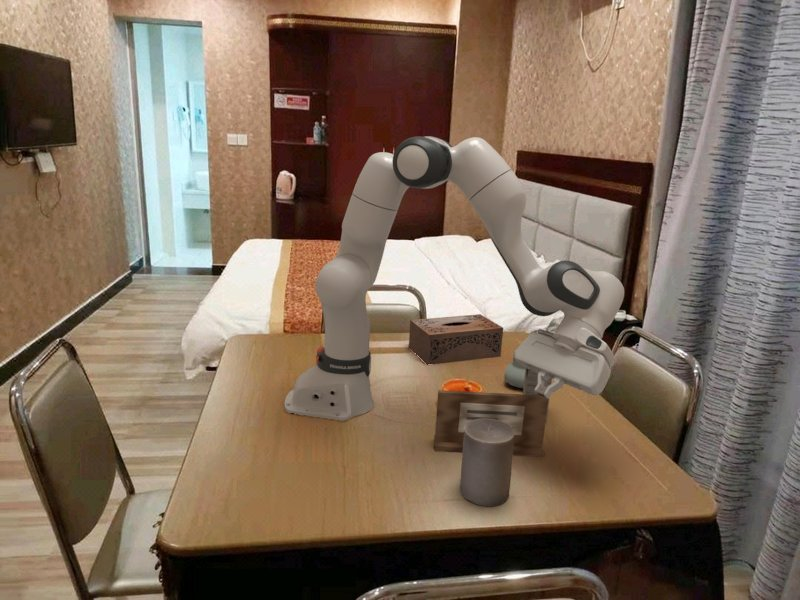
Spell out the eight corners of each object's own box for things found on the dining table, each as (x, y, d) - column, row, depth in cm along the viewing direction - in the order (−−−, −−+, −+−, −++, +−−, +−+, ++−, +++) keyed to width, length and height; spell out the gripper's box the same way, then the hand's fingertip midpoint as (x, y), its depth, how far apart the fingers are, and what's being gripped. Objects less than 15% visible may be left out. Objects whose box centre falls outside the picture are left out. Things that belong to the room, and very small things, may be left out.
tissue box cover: (477, 342, 198) (480, 314, 196) (500, 357, 186) (503, 327, 183) (408, 349, 189) (410, 320, 186) (427, 365, 176) (429, 334, 173)
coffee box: (520, 404, 153) (527, 347, 148) (545, 407, 152) (553, 350, 147) (520, 420, 144) (527, 360, 140) (547, 423, 143) (555, 363, 139)
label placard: (434, 450, 128) (438, 396, 125) (434, 439, 133) (437, 386, 130) (543, 456, 128) (550, 401, 125) (538, 444, 133) (545, 391, 129)
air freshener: (511, 374, 172) (514, 343, 169) (539, 380, 168) (543, 348, 166) (501, 388, 162) (504, 354, 159) (530, 394, 159) (534, 360, 156)
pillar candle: (503, 478, 119) (509, 412, 115) (513, 507, 110) (520, 436, 106) (456, 477, 119) (461, 411, 115) (462, 507, 110) (467, 435, 106)
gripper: (529, 319, 127) (495, 370, 124) (614, 347, 112) (579, 406, 109) (539, 334, 131) (507, 384, 128) (623, 363, 116) (589, 421, 113)
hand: (541, 395), depth 118 cm, fingers closed
